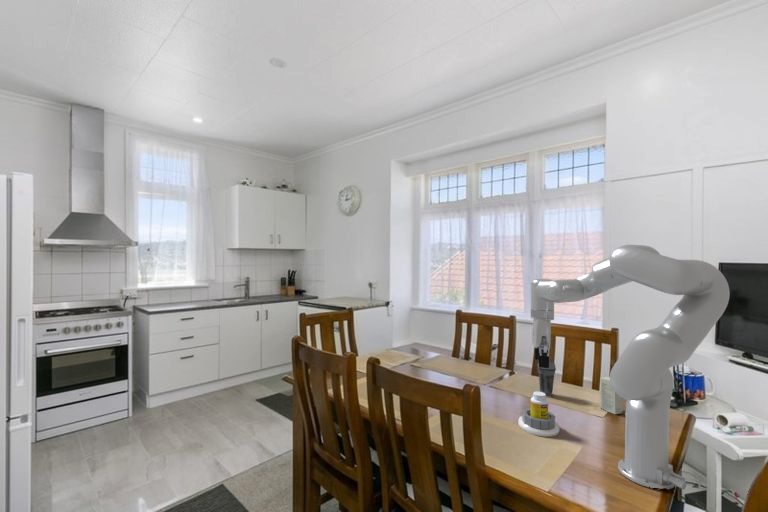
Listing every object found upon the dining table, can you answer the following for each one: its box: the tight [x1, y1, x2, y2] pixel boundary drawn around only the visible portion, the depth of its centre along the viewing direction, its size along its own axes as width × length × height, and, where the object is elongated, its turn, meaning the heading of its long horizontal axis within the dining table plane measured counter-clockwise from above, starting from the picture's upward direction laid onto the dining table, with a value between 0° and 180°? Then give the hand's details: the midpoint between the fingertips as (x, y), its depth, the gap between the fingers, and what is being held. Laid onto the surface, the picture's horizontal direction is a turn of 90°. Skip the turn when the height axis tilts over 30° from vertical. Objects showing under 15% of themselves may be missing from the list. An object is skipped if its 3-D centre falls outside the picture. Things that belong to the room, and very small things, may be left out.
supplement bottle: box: [530, 391, 549, 419], centre depth 125 cm, size 6×6×10 cm
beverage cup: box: [536, 348, 557, 397], centre depth 155 cm, size 7×7×20 cm
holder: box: [517, 407, 560, 438], centre depth 125 cm, size 13×13×4 cm
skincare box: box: [599, 376, 624, 415], centre depth 140 cm, size 6×4×12 cm
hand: (541, 363), depth 127 cm, fingers open, 9 cm apart
